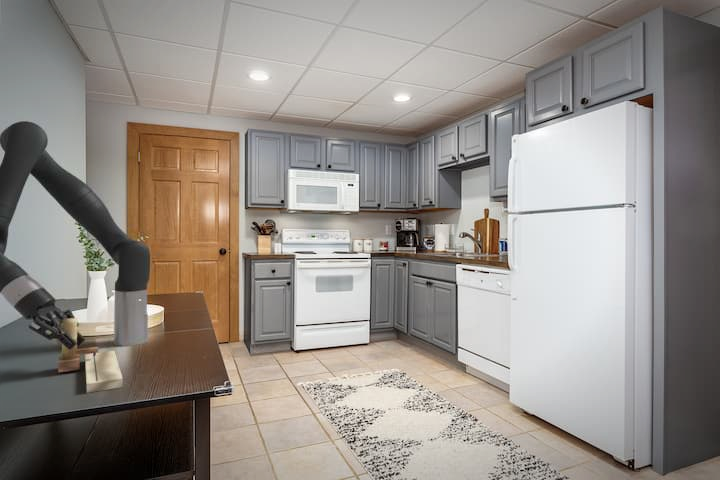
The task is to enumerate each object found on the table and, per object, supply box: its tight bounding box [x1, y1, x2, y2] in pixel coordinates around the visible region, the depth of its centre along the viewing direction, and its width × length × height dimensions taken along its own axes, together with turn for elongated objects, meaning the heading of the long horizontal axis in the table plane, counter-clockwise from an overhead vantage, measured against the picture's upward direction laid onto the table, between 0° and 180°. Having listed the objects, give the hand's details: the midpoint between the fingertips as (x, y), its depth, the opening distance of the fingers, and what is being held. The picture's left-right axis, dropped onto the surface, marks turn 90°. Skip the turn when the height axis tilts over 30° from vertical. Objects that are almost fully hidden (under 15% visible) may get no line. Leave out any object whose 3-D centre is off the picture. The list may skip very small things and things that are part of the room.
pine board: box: [84, 350, 124, 394], centre depth 106 cm, size 7×26×2 cm, turn 34°
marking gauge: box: [57, 317, 99, 373], centre depth 109 cm, size 8×6×12 cm
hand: (77, 344), depth 108 cm, fingers closed on marking gauge, 3 cm apart
